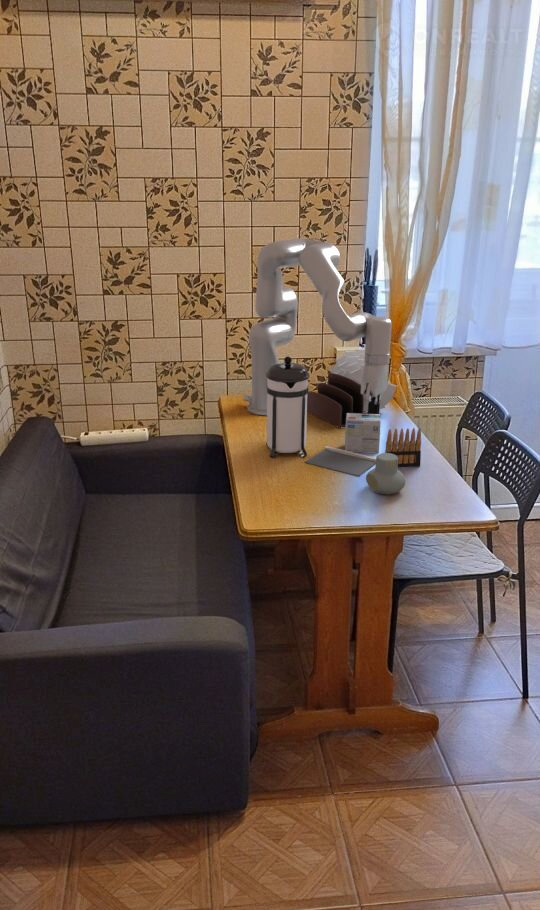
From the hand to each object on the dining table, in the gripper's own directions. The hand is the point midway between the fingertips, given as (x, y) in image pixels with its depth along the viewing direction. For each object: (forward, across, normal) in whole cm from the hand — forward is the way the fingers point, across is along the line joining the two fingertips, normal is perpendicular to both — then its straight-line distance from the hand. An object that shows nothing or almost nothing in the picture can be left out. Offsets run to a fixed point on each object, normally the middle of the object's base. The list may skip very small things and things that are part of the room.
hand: (373, 414), depth 241 cm
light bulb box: (+9, +7, 0) cm, 12 cm away
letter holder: (+10, -14, -21) cm, 27 cm away
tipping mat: (+9, +20, 0) cm, 22 cm away
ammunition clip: (+9, +12, +16) cm, 22 cm away
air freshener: (+9, +31, +19) cm, 37 cm away
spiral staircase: (+9, -32, -20) cm, 38 cm away
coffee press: (+9, +21, -20) cm, 30 cm away
